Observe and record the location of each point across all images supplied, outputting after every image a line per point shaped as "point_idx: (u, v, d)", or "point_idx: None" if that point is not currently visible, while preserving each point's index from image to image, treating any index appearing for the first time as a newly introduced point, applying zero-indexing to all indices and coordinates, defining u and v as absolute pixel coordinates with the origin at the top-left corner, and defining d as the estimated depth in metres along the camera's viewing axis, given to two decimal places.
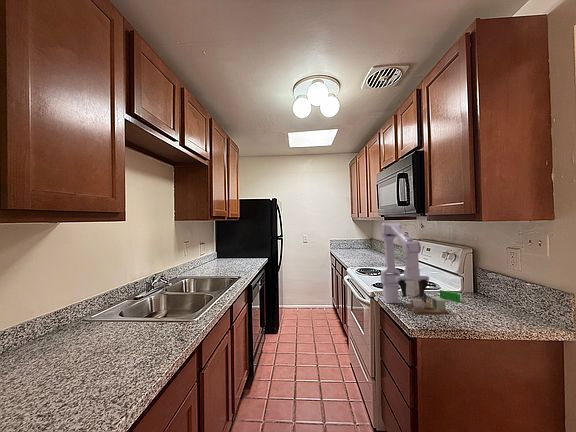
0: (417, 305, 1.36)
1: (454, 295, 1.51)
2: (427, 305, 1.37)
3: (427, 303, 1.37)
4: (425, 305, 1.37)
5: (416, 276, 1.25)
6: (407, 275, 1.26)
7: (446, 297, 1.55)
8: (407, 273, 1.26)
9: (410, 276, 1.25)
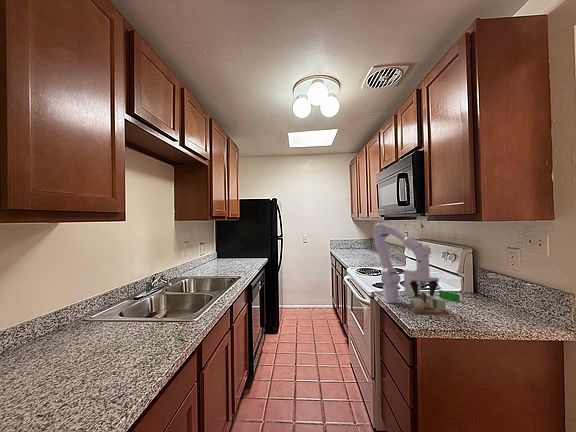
0: (417, 305, 1.36)
1: (453, 295, 1.50)
2: (427, 305, 1.37)
3: (427, 303, 1.37)
4: (425, 305, 1.37)
5: (427, 277, 1.36)
6: (418, 277, 1.37)
7: (446, 297, 1.54)
8: (418, 275, 1.37)
9: (421, 277, 1.36)
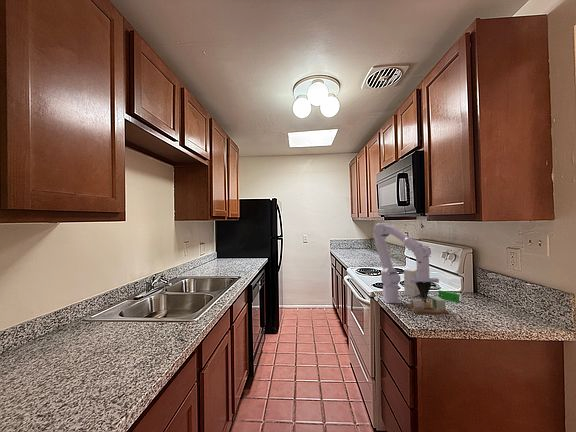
0: (417, 305, 1.36)
1: (453, 295, 1.50)
2: (427, 305, 1.37)
3: (427, 303, 1.37)
4: (425, 305, 1.37)
5: (427, 278, 1.36)
6: (419, 277, 1.37)
7: (445, 297, 1.54)
8: (419, 275, 1.37)
9: (421, 278, 1.36)
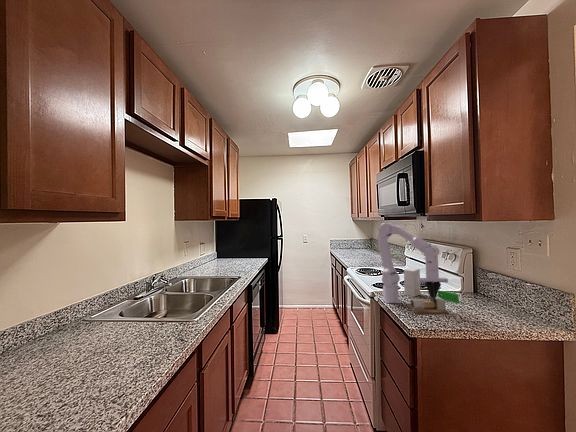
0: (417, 305, 1.36)
1: (452, 295, 1.50)
2: (436, 305, 1.37)
3: (436, 303, 1.37)
4: (434, 305, 1.37)
5: (436, 278, 1.35)
6: (428, 277, 1.37)
7: (445, 297, 1.54)
8: (428, 275, 1.37)
9: (431, 278, 1.36)
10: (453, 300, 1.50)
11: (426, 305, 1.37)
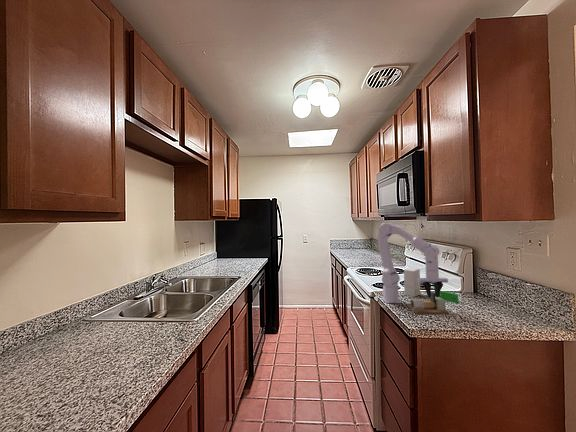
0: (417, 305, 1.36)
1: (452, 296, 1.50)
2: (436, 305, 1.37)
3: (436, 303, 1.37)
4: (434, 305, 1.37)
5: (436, 278, 1.35)
6: (428, 277, 1.37)
7: (444, 297, 1.54)
8: (428, 275, 1.37)
9: (431, 278, 1.36)
10: (453, 300, 1.49)
11: (426, 305, 1.37)
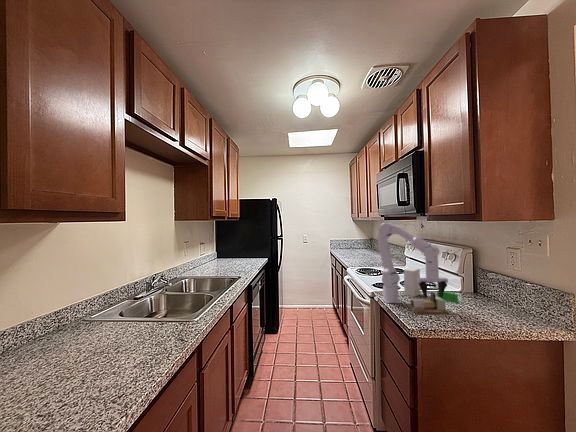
0: (417, 305, 1.36)
1: (451, 296, 1.50)
2: (436, 305, 1.37)
3: (436, 303, 1.37)
4: (434, 305, 1.37)
5: (436, 278, 1.35)
6: (428, 277, 1.37)
7: (444, 297, 1.53)
8: (428, 275, 1.37)
9: (431, 278, 1.36)
10: (452, 300, 1.49)
11: (426, 305, 1.37)
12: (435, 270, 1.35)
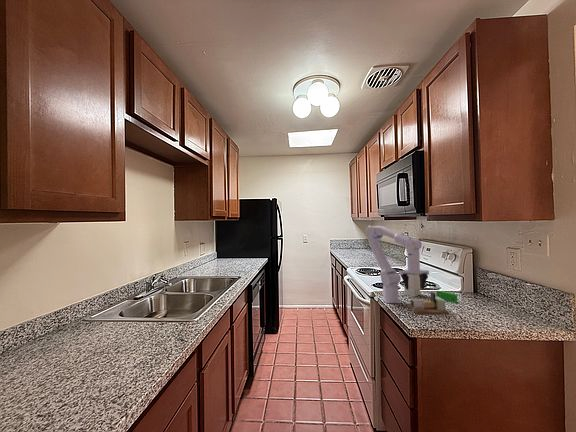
0: (417, 305, 1.36)
1: (451, 296, 1.49)
2: (436, 305, 1.37)
3: (436, 303, 1.37)
4: (434, 305, 1.37)
5: (417, 270, 1.39)
6: (409, 269, 1.40)
7: (443, 297, 1.53)
8: (409, 267, 1.40)
9: (412, 270, 1.39)
10: (452, 300, 1.49)
11: (426, 305, 1.37)
12: (416, 262, 1.39)
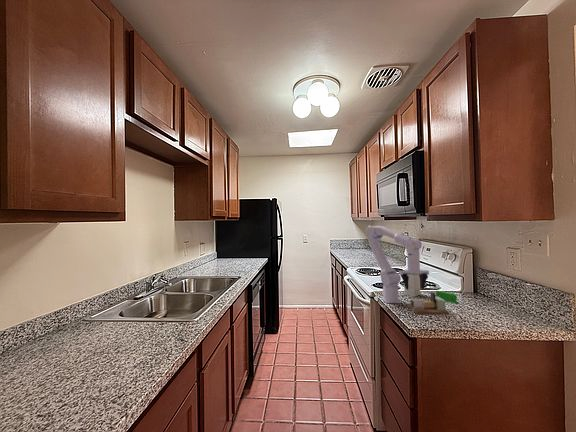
0: (417, 305, 1.36)
1: (450, 296, 1.49)
2: (436, 305, 1.37)
3: (436, 303, 1.37)
4: (434, 305, 1.37)
5: (417, 270, 1.39)
6: (409, 269, 1.40)
7: (443, 297, 1.53)
8: (409, 267, 1.40)
9: (412, 270, 1.39)
10: (451, 300, 1.49)
11: (426, 305, 1.37)
12: (416, 262, 1.39)
